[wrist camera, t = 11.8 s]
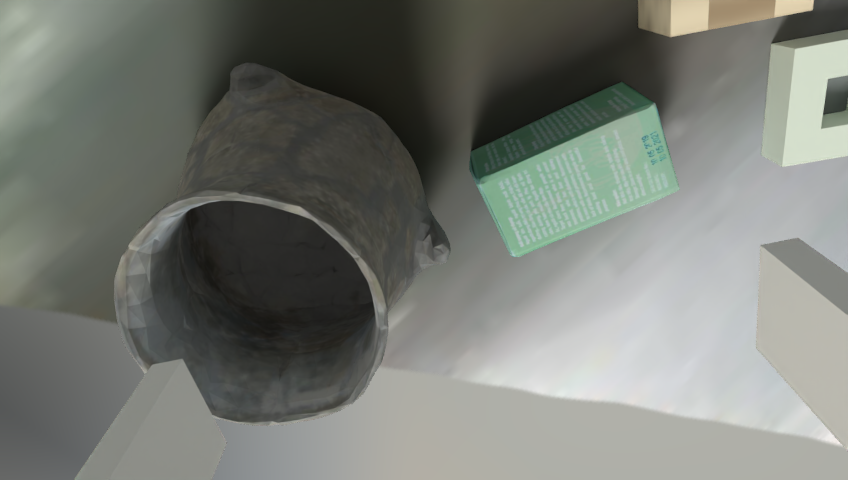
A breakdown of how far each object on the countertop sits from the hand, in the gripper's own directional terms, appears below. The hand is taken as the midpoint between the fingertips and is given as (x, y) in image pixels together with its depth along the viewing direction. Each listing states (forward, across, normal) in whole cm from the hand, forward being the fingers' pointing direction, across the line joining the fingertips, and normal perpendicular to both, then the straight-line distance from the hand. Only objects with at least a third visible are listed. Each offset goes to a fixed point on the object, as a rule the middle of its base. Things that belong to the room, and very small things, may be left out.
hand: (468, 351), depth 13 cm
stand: (+34, +30, -8) cm, 46 cm away
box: (+34, +9, -8) cm, 36 cm away
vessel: (+34, -12, -6) cm, 37 cm away
